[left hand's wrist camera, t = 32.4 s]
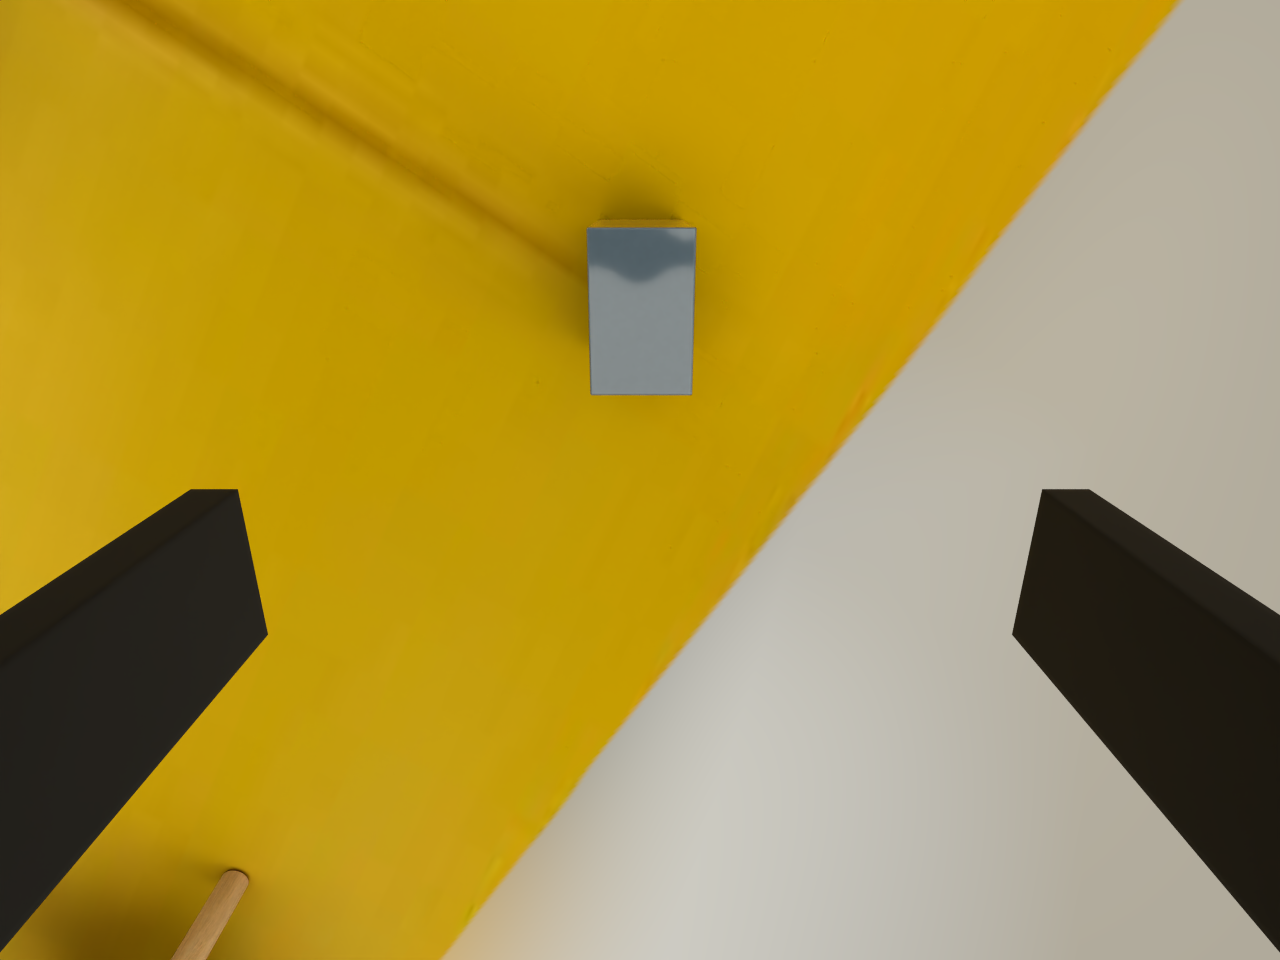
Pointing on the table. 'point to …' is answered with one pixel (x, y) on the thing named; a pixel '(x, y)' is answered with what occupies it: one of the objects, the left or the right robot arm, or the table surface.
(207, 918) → the planter
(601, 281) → the brick
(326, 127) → the table surface
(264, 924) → the table surface
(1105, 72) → the table surface
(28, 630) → the left robot arm
